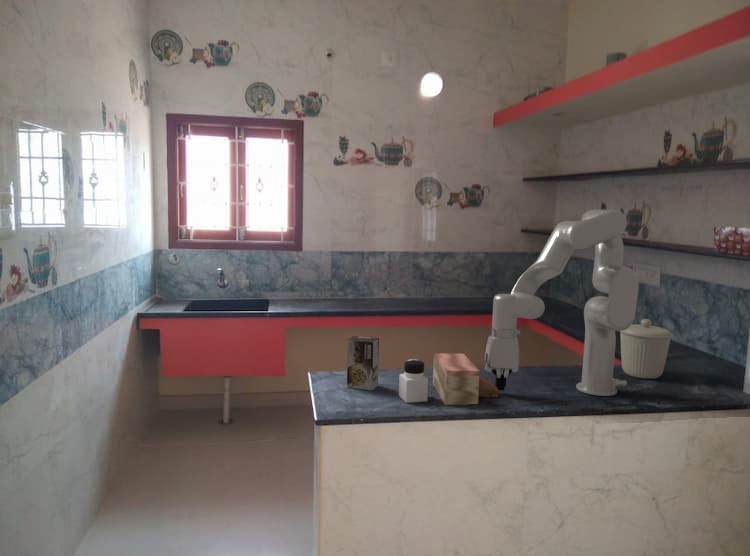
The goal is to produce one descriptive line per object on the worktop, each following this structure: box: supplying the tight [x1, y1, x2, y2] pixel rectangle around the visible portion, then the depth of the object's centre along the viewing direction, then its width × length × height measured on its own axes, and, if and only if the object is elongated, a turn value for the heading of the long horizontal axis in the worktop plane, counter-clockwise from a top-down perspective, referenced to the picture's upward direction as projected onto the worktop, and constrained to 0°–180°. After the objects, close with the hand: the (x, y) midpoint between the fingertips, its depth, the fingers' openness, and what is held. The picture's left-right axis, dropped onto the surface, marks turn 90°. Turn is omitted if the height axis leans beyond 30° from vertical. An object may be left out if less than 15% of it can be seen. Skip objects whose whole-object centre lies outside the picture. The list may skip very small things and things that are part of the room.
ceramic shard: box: [478, 376, 501, 398], centre depth 185 cm, size 15×6×15 cm
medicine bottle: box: [398, 358, 430, 404], centre depth 176 cm, size 7×7×12 cm
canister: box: [619, 318, 674, 380], centre depth 210 cm, size 18×18×21 cm
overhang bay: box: [432, 352, 481, 406], centre depth 182 cm, size 10×21×10 cm, turn 5°
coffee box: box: [346, 335, 380, 391], centre depth 187 cm, size 9×6×16 cm
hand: (500, 388), depth 184 cm, fingers closed
